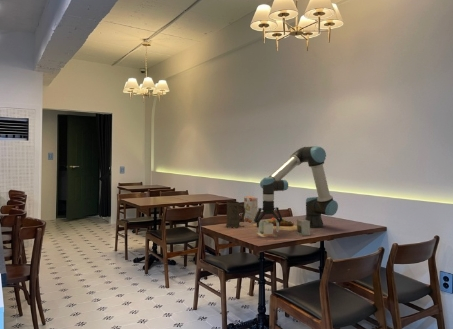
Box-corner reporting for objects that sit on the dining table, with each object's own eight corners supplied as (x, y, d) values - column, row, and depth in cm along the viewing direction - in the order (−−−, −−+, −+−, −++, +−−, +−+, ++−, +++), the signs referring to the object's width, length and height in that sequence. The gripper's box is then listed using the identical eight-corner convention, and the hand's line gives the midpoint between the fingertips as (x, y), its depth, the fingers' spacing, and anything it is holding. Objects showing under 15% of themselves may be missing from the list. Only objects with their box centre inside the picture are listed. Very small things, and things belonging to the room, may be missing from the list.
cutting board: (251, 226, 287) (251, 217, 287) (271, 223, 302) (271, 214, 302) (285, 233, 261) (285, 223, 260) (305, 229, 276) (305, 219, 276)
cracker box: (243, 220, 312) (243, 196, 312) (250, 220, 315) (250, 196, 314) (251, 223, 299) (251, 198, 299) (257, 222, 302) (257, 197, 301)
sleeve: (273, 236, 242) (273, 224, 242) (265, 236, 241) (265, 224, 240) (270, 234, 247) (270, 222, 247) (263, 234, 246) (263, 223, 246)
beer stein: (228, 228, 277) (229, 202, 277) (223, 225, 287) (224, 200, 287) (246, 228, 283) (248, 202, 283) (240, 225, 293) (242, 201, 293)
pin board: (269, 233, 258) (269, 224, 257) (277, 238, 242) (277, 228, 242) (254, 234, 255) (254, 225, 255) (262, 239, 239) (262, 229, 239)
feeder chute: (304, 233, 259) (304, 219, 259) (309, 235, 251) (309, 221, 251) (296, 233, 257) (296, 219, 257) (301, 235, 250) (301, 221, 249)
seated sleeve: (266, 231, 256) (266, 220, 256) (269, 233, 251) (269, 222, 251) (258, 232, 255) (258, 221, 255) (261, 233, 249) (261, 222, 249)
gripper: (283, 199, 250) (283, 229, 251) (249, 200, 244) (249, 231, 245) (287, 200, 243) (287, 232, 243) (252, 201, 237) (252, 233, 238)
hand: (268, 231), depth 244 cm, fingers open, 13 cm apart
